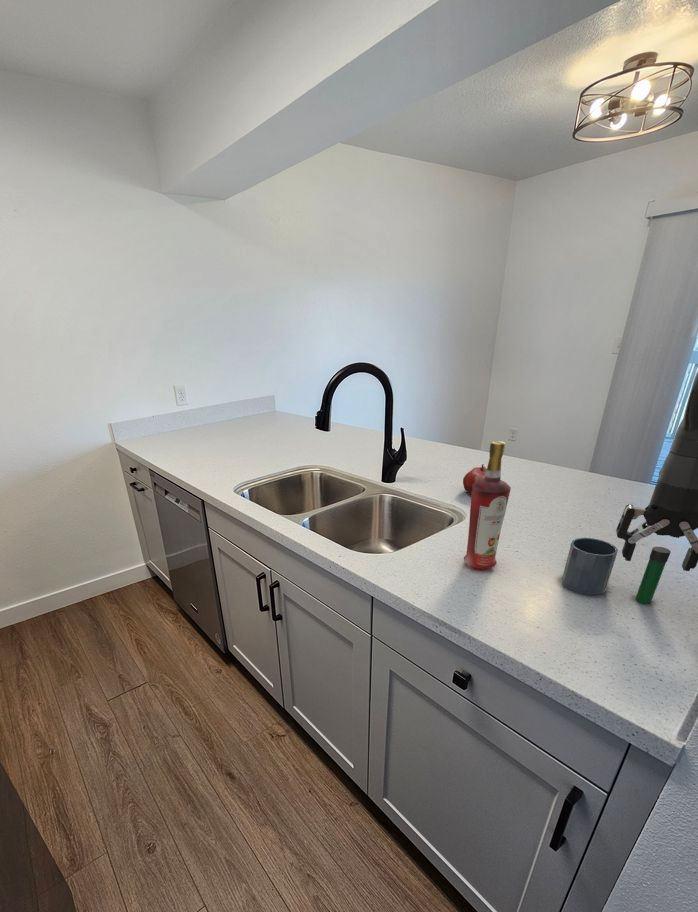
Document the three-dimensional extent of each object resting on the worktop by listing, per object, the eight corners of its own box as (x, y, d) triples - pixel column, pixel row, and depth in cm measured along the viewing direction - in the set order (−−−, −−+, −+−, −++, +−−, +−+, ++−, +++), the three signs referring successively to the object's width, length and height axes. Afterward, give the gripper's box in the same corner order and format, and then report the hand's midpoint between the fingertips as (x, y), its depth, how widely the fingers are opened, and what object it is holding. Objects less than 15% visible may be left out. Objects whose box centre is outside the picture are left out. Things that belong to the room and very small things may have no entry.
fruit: (460, 487, 143) (464, 458, 138) (491, 489, 140) (496, 458, 136) (462, 497, 135) (466, 466, 131) (495, 499, 132) (500, 467, 128)
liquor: (484, 555, 102) (503, 437, 90) (503, 571, 95) (526, 445, 83) (455, 560, 101) (470, 440, 89) (472, 575, 94) (491, 449, 82)
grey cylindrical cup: (586, 573, 93) (597, 536, 89) (614, 593, 86) (627, 553, 82) (553, 577, 92) (562, 540, 88) (579, 597, 85) (590, 557, 81)
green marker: (643, 595, 85) (661, 545, 80) (655, 603, 82) (674, 552, 77) (631, 597, 84) (648, 547, 79) (642, 604, 82) (661, 553, 77)
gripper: (637, 481, 73) (610, 565, 80) (752, 492, 66) (711, 582, 74) (632, 468, 79) (607, 548, 86) (737, 478, 72) (701, 562, 79)
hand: (655, 563), depth 80 cm, fingers open, 8 cm apart
